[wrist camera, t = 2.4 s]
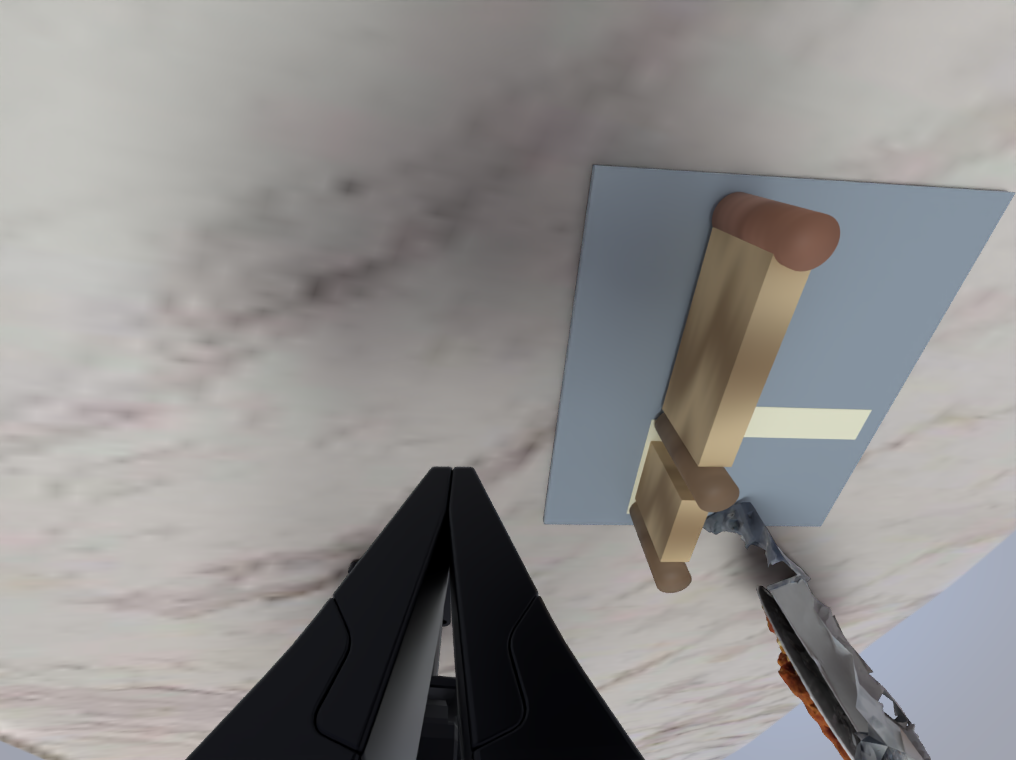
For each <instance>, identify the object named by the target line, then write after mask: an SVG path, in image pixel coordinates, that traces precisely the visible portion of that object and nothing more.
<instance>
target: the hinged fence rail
mask: <svg viewBox="0 0 1016 760" xmlns="http://www.w3.org/2000/svg"><path fill="white" fill-rule="evenodd" d="M712 226H713V228H712V232H711V235H710V239H709V242H708V246H707V249H706V253H705V257H704V260H703V264H702V267H701V271H700V275H699V278H698V282H697V285H696V289H695V292H694V296H693V300H692V303H691V307H690V310H689V314H688V318H687V321H686V325H685V328H684V332H683V335H682V339H681V343H680V346H679V350H678V353H677V357H676V361H675V364H674V368H673V371H672V375H671V378H670V382H669V386H668V389H667V393H666V396H665V400H664V404H663V407H662V409H663V411H664V413H662V414H661V415H660V416H659V417H658V418H657V420H656V422H655V429H656V431H657V433H658V435H659V437H660V439H661V440H662V442H663V444H664V446H665V447H666V449H667V451H668V453H669V455H670V456H671V458H672V460H673V462H674V464H675V465H676V467H677V469H678V471H679V472H680V474H681V476H682V478H683V480H684V481H685V483H686V485H687V487H688V489H689V490H690V492H691V494H692V496H693V498H694V499H695V501H696V503H697V505H698V506H699V508H700V509H702V510H703V511H706V512H719V511H723V510H725V509H727V508H729V507H731V506H732V505H733V504H734V503H735V502H736V501H737V499H738V497H739V494H740V491H739V488H738V486H737V485H736V484H735V482H734V481H733V479H732V478H731V476H730V475H729V474H728V472H727V471H726V469H725V468H724V467H732V465H733V462H734V460H735V457H736V455H737V452H738V450H739V447H740V445H741V442H742V440H743V437H744V435H745V432H746V430H747V428H748V425H749V423H750V420H751V418H752V415H753V413H754V410H755V408H756V405H757V403H758V400H759V398H760V395H761V393H762V390H763V388H764V385H765V383H766V380H767V378H768V375H769V373H770V371H771V368H772V366H773V363H774V361H775V358H776V356H777V353H778V351H779V348H780V346H781V343H782V341H783V338H784V336H785V333H786V331H787V328H788V326H789V323H790V321H791V319H792V316H793V314H794V311H795V309H796V306H797V304H798V301H799V299H800V296H801V294H802V291H803V289H804V286H805V284H806V281H807V279H808V276H809V274H810V271H811V270H812V269H814V268H816V267H818V266H820V265H821V264H823V263H824V262H825V261H826V260H827V259H828V258H829V257H830V256H831V255H832V254H833V252H834V251H835V249H836V247H837V245H838V242H839V239H840V226H839V224H838V222H837V220H836V219H835V218H834V217H832V216H830V215H828V214H825V213H821V212H817V211H813V210H809V209H805V208H802V207H798V206H794V205H790V204H786V203H782V202H779V201H775V200H771V199H767V198H763V197H759V196H756V195H752V194H748V193H744V192H735V193H732V194H729V195H727V196H726V197H724V198H723V199H722V200H721V201H720V202H719V203H718V205H717V206H716V208H715V210H714V212H713V215H712Z"/></svg>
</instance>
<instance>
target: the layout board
mask: <svg viewBox="0 0 1016 760" xmlns="http://www.w3.org/2000/svg"><path fill="white" fill-rule="evenodd" d="M735 192H744V193H748V194H752V195H756V196H759V197H763V198H767V199H771V200H775V201H779V202H782V203H786V204H790V205H794V206H798V207H802V208H805V209H809V210H813V211H817V212H821V213H825V214H828V215H830V216H832V217H834V218H835V219H836V220H837V222H838V224H839V226H840V239H839V242H838V245H837V247H836V249H835V251H834V252H833V254H832V255H831V256H830V257H829V258H828V259H827V260H826V261H825V262H824V263H823V264H821V265H820V266H818V267H816V268H814V269H812V270H811V271H810V274H809V276H808V279H807V281H806V284H805V286H804V289H803V291H802V294H801V296H800V299H799V301H798V304H797V306H796V309H795V311H794V314H793V316H792V319H791V321H790V323H789V326H788V328H787V331H786V333H785V336H784V338H783V341H782V343H781V346H780V348H779V351H778V353H777V356H776V358H775V361H774V363H773V366H772V368H771V371H770V373H769V375H768V378H767V380H766V383H765V385H764V388H763V390H762V393H761V395H760V398H759V400H758V403H757V405H756V408H755V410H754V413H753V415H752V418H751V420H750V423H749V425H748V428H747V430H746V432H745V435H744V437H743V440H742V442H741V445H740V447H739V450H738V452H737V455H736V457H735V460H734V462H733V465H732V467H724V468H725V469H726V471H727V472H728V474H729V475H730V476H731V478H732V479H733V481H734V482H735V484H736V485H737V486H738V488H739V491H740V494H739V497H738V499H737V501H736V502H735V503H734V504H737V503H742V502H751V504H752V505H753V506H754V508H755V509H756V511H757V513H758V515H759V516H760V518H761V519H762V521H763V523H764V524H765V526H821V525H822V523H823V522H824V520H825V518H826V517H827V515H828V513H829V511H830V510H831V508H832V506H833V505H834V503H835V501H836V499H837V498H838V496H839V494H840V493H841V491H842V489H843V487H844V486H845V484H846V482H847V481H848V479H849V477H850V475H851V474H852V472H853V470H854V469H855V467H856V465H857V463H858V462H859V460H860V458H861V457H862V455H863V453H864V451H865V450H866V448H867V446H868V445H869V443H870V441H871V439H872V438H873V436H874V434H875V433H876V431H877V429H878V427H879V426H880V424H881V422H882V421H883V419H884V417H885V415H886V414H887V412H888V410H889V409H890V407H891V405H892V404H893V402H894V400H895V398H896V397H897V395H898V393H899V392H900V390H901V388H902V386H903V385H904V383H905V381H906V380H907V378H908V376H909V374H910V373H911V371H912V369H913V368H914V366H915V364H916V362H917V361H918V359H919V357H920V356H921V354H922V352H923V350H924V349H925V347H926V345H927V344H928V342H929V340H930V338H931V337H932V335H933V333H934V332H935V330H936V328H937V326H938V325H939V323H940V321H941V320H942V318H943V316H944V314H945V313H946V311H947V309H948V308H949V306H950V304H951V302H952V301H953V299H954V297H955V296H956V294H957V292H958V290H959V289H960V287H961V285H962V284H963V282H964V280H965V278H966V277H967V275H968V273H969V272H970V270H971V268H972V266H973V265H974V263H975V261H976V260H977V258H978V256H979V254H980V253H981V251H982V249H983V248H984V246H985V244H986V242H987V241H988V239H989V237H990V236H991V234H992V232H993V230H994V229H995V227H996V225H997V224H998V222H999V220H1000V218H1001V217H1002V215H1003V213H1004V212H1005V210H1006V208H1007V206H1008V205H1009V203H1010V201H1011V200H1012V198H1013V196H1014V194H1015V193H1014V192H1007V191H992V190H976V189H961V188H945V187H930V186H915V185H899V184H884V183H868V182H853V181H837V180H822V179H806V178H791V177H776V176H760V175H745V174H729V173H714V172H698V171H683V170H668V169H652V168H637V167H621V166H606V165H593V169H592V176H591V183H590V190H589V197H588V204H587V211H586V219H585V226H584V233H583V240H582V247H581V254H580V261H579V268H578V275H577V283H576V290H575V297H574V304H573V311H572V318H571V325H570V332H569V339H568V347H567V354H566V361H565V368H564V375H563V382H562V389H561V396H560V403H559V411H558V418H557V425H556V432H555V439H554V446H553V453H552V460H551V468H550V475H549V482H548V489H547V496H546V503H545V510H544V517H543V521H544V524H583V525H634V524H633V521H632V519H631V516H630V513H629V509H630V507H631V505H632V504H633V503H634V502H636V500H635V496H636V493H637V489H638V485H639V482H640V478H641V474H642V471H643V467H644V463H645V460H646V456H647V453H648V449H649V445H650V442H651V441H662V440H661V439H660V437H659V435H658V433H657V431H656V429H655V422H656V420H657V418H658V417H659V416H660V415H661V414H662V413H664V411H663V409H662V407H663V404H664V400H665V396H666V393H667V389H668V386H669V382H670V378H671V375H672V371H673V368H674V364H675V361H676V357H677V353H678V350H679V346H680V343H681V339H682V335H683V332H684V328H685V325H686V321H687V318H688V314H689V310H690V307H691V303H692V300H693V296H694V292H695V289H696V285H697V282H698V278H699V275H700V271H701V267H702V264H703V260H704V257H705V253H706V249H707V246H708V242H709V239H710V235H711V232H712V228H713V226H712V215H713V212H714V210H715V208H716V206H717V205H718V203H719V202H720V201H721V200H722V199H723V198H724V197H726V196H727V195H729V194H732V193H735ZM734 504H733V505H734ZM715 513H717V512H708V515H707V517H706V519H707V518H709V517H710V516H712V515H714V514H715Z"/></svg>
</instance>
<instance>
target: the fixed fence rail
mask: <svg viewBox="0 0 1016 760" xmlns="http://www.w3.org/2000/svg"><path fill="white" fill-rule="evenodd" d="M635 500H636V502H634V503H633V504H632V505H631V507H630V509H629V513H630V516H631V519H632V521H633V524H634V527H635V529H636V532H637V535H638V537H639V540H640V543H641V546H642V548H643V551H644V554H645V556H646V559H647V562H648V564H649V567H650V570H651V572H652V575H653V578H654V580H655V583H656V586H657V588H658V589H659V590H660V591H662V592H665V593H674V592H678V591H681V590H683V589H685V588H686V587H687V586H689V584H690V583H691V580H692V578H691V575H690V573H689V571H688V569H687V566H686V564H685V562H689V560H690V558H691V555H692V553H693V550H694V548H695V545H696V543H697V540H698V538H699V535H700V533H701V530H702V528H703V525H704V522H705V520H706V517H707V515H708V512H706V511H703V510H702V509H700V508H699V506H698V505H697V503H696V501H695V499H694V498H693V496H692V494H691V492H690V490H689V489H688V487H687V485H686V483H685V481H684V480H683V478H682V476H681V474H680V472H679V471H678V469H677V467H676V465H675V464H674V462H673V460H672V458H671V456H670V455H669V453H668V451H667V449H666V447H665V446H664V444H663V442H662V441H651V442H650V445H649V449H648V453H647V456H646V460H645V463H644V467H643V471H642V474H641V478H640V482H639V485H638V489H637V493H636V496H635Z"/></svg>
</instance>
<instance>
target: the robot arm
mask: <svg viewBox="0 0 1016 760" xmlns="http://www.w3.org/2000/svg"><path fill="white" fill-rule="evenodd" d="M348 573H349V574H348V576H347V577H346V578H345V579H344V581H343V582H342V583H341V585H340V586H339V587H338V589H337V590H336V591H335V592H334V594H333V598H330V599H329V600H328V601H327V602H326V604H325V605H324V606H323V607H322V609H321V610H320V611H319V613H318V614H317V615H316V617H315V618H314V619H313V620H312V621H311V623H310V624H309V625H308V626H307V628H306V629H305V630H304V631H303V632H302V634H301V635H300V636H299V637H298V639H297V640H296V641H295V642H294V643H293V645H292V646H291V647H290V648H289V649H288V650H287V651H286V652H285V653H284V655H283V656H282V657H281V658H280V659H279V660H278V661H277V662H276V663H275V665H274V666H273V667H272V668H271V669H270V670H269V671H268V672H267V673H266V674H265V676H264V677H263V678H262V679H261V680H260V681H259V682H258V683H257V684H256V685H255V686H254V687H253V688H252V689H251V690H250V692H249V693H248V694H247V695H246V696H245V697H244V698H243V699H242V700H241V701H240V702H239V703H238V704H237V705H236V706H235V707H234V708H233V710H232V711H231V712H230V713H229V714H228V715H227V716H226V717H225V718H224V719H223V720H222V721H221V722H220V723H219V724H218V725H217V727H216V728H215V729H214V730H213V731H212V732H211V733H210V734H209V735H208V736H207V737H206V738H205V739H204V740H203V741H202V742H201V744H200V745H199V746H198V747H197V748H196V749H195V750H194V751H193V752H192V753H191V754H190V755H189V756H188V757H187V758H186V759H185V760H645V759H644V757H643V756H642V755H641V753H640V752H639V750H638V749H637V748H636V746H635V745H634V743H633V742H632V740H631V739H630V738H629V736H628V735H627V733H626V732H625V730H624V729H623V727H622V726H621V724H620V723H619V721H618V720H617V718H616V717H615V716H614V714H613V713H612V711H611V710H610V708H609V707H608V705H607V704H606V702H605V701H604V699H603V698H602V697H601V695H600V694H599V692H598V691H597V689H596V688H595V686H594V685H593V683H592V682H591V680H590V679H589V678H588V676H587V675H586V673H585V672H584V670H583V669H582V667H581V666H580V664H579V662H578V661H577V659H576V658H575V656H574V655H573V653H572V652H571V650H570V648H569V647H568V645H567V644H566V642H565V641H564V639H563V637H562V635H561V633H560V632H559V630H558V628H557V626H556V625H555V623H554V621H553V619H552V617H551V616H550V614H549V612H548V610H547V608H546V606H545V604H544V602H543V600H542V598H541V597H540V596H538V591H537V589H536V587H535V585H534V583H533V581H532V580H531V578H530V576H529V574H528V572H527V570H526V568H525V566H524V564H523V562H522V560H521V558H520V556H519V554H518V552H517V551H516V549H515V547H514V545H513V543H512V541H511V539H510V537H509V535H508V533H507V531H506V529H505V527H504V525H503V523H502V522H501V520H500V518H499V516H498V514H497V512H496V510H495V508H494V506H493V504H492V502H491V500H490V498H489V496H488V495H487V493H486V491H485V489H484V487H483V485H482V483H481V481H480V479H479V477H478V475H477V473H476V471H475V470H474V468H472V467H455V468H454V469H453V470H452V468H451V467H432V468H431V469H430V470H429V471H428V473H427V474H426V475H425V477H424V478H423V479H422V480H421V482H420V483H419V484H418V486H417V487H416V488H415V489H414V491H413V492H412V493H411V495H410V496H409V497H408V498H407V500H406V501H405V502H404V504H403V505H402V506H401V507H400V509H399V510H398V511H397V513H396V514H395V515H394V516H393V518H392V519H391V520H390V522H389V523H388V524H387V525H386V527H385V528H384V529H383V531H382V532H381V533H380V534H379V536H378V537H377V538H376V540H375V541H374V542H373V543H372V545H371V546H370V547H369V549H368V550H367V551H366V552H365V554H364V555H363V556H362V558H361V559H360V560H359V561H356V562H352V563H351V564H350V567H349V570H348ZM451 613H452V628H453V643H454V658H455V674H456V677H445V676H438V668H439V656H440V645H441V633H442V626H448V625H449V624H450V622H451Z"/></svg>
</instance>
